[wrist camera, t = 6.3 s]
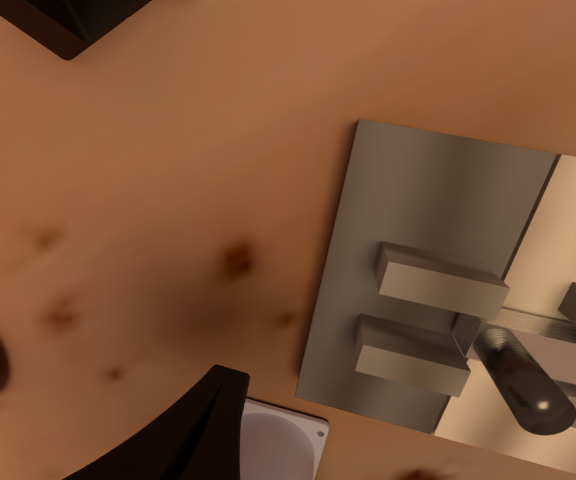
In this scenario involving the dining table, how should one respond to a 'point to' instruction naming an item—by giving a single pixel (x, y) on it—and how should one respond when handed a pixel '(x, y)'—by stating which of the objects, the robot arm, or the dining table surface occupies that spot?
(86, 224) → the dining table surface
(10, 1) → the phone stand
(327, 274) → the door and jamb
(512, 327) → the bolt
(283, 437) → the robot arm
